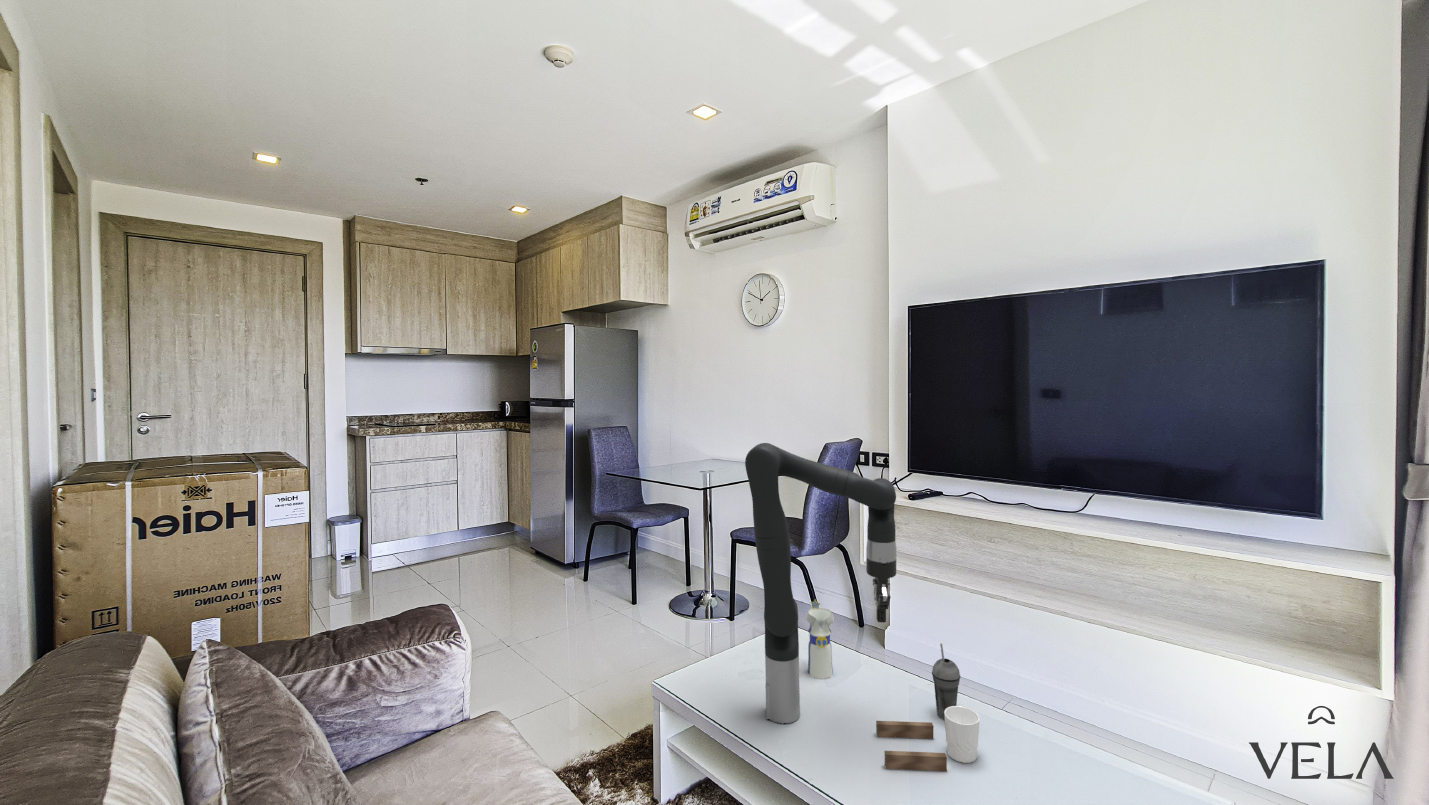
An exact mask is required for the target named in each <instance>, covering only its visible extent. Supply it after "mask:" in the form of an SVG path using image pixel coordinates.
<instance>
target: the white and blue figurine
mask: <svg viewBox="0 0 1429 805" xmlns="http://www.w3.org/2000/svg"><path fill="white" fill-rule="evenodd" d="M809 603H810V604H811V605H812V606H811V608H810V609H809V610H807V613H806V617H805V618H806V621H807V622H808V623H809V624H810V625H809V628H808V631H807V632H808V634H809V640H808V645H807V646H808V648H807V649H808V652H807V653H808V655H807V656H808V660H807V661H808V664H807V674H808V675H809V676H810V677H812V678H813V679H818V680H825V679H826V680H827V679H829V678H831V677H832V676H833V674H834V672H833V671H834V669H833V652H832V651H833V650H832V643H831V634H832V630H831V628H830V626H831V625H832V624H833V623H834V621H835V616H834V615H833V612H832V610H830V609H829V608H827V607H819V606H820V605H822V603H821V602H817V599H816V598H815V599H813V601H810V602H809Z"/></svg>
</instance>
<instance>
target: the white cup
mask: <svg viewBox="0 0 1429 805" xmlns="http://www.w3.org/2000/svg"><path fill="white" fill-rule="evenodd" d="M944 715H945V720H944V728H945V729H944V730H945V731H944V732H945V742H946V752H947V755H949V757H950V758H951V759H952V760H954V761H956V762H959V763H963V764H971V763H973V762H975V761H976V760H977V758H978V746H979V736H980V735H979V734H980V716H979V714H978V713H977V712H976V711H974V710H973V709H971V708H969V707H966V706H960V705H956V706H951V707H948V708H946V709H945V711H944Z"/></svg>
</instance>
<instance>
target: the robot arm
mask: <svg viewBox="0 0 1429 805" xmlns="http://www.w3.org/2000/svg"><path fill="white" fill-rule="evenodd" d="M744 463H745V464H744V465H745V466H744V467H745V471H746V475H747V476H746V477H747V480H748V484H749V489H750V493H751V499H752V500H751V501H752V516H753V528H754V529H753V531H754V539H755V540H754V541H755V547H756V554H757V561H758V565H759V566H758V567H759V571H760V575H761V579H762V584H763V591H764V593H763V595H764V597H763V599H764V600H763V601H764V607H763V608H764V610H763V619H764V655H765V656H764V658H765V661H764V662H765V663H764V664H765V719H766V720H767V719H771V720H770V721H772V720H773V721H772V722H774V721H775V722H774V723H777V722H778V723H777V724H784V723H786V724H790V723H794V722H796V721H797V720H799V718H800V716H801V704H800V700H801V699H800V698H801V697H800V696H801V694H800V689H801V688H800V651H799V650H800V645H799V608H798V603H797V601H796V599H795V598H794V596H793V590H792V578H791V577H792V576H791V574H792V573H791V572H792V565H791V564H792V556H791V554H792V552H791V551H792V550H791V538H790V531H789V530H790V529H789V525H788V521H787V517H786V514H785V511H784V508H783V505H782V502H781V499H780V492H779V488H780V487H779V476H781V477H786V478H790V479H795V480H797V481H799V482H803V483H804V484H807V485H808V486H811V487H814V489H815V488H816V489H818V490H820V491H823V492H825V493H827V494H831V495H835V496H839V497H842V498H846V499H850V500H853V501H854V502H856V503H859V504H862V505H864V506H866V507H867V509H868V516H867V518H868V519H867V528H866V530H867V540H866V541H867V542H866V547H865V548H866V552H865V554H866V555H865V557H866V559H865V561H866V563H865V565H866V566H865V569H866V574H867V575H868V576H870V577H872V586H873V596H874V597H873V599H874V601H875V602H874V603H875V604H874V605H875V606H876V615H875V616H876V621H877V622H878V623H883V624H884V623H887V622H886V621H887V610H889V608H890V606H889V605H890V601H891V599H892V598H891V594H890V591H891V583H890V582H889V579H892V578H895V577H896V575H897V542H896V520H895V504H896V501H897V493H896V489H895V486H894V484H893V483H892V482H891V481H890V480H889V479H887V478H884V477H883V478H882V477H878V478H874V479H869V478H867V477H863V476H860V475H859V474H858V473H856V472H854V471H851V470H848V469H843V468H839V467H836V466H833V465H829V464H825V463H821V462H818V461H815V460H814V461H813V460H810V459H807V458H804V457H801V456H800V455H796V454H794V453H791V452H789V451H787V450H784V449H782V448H780V447H779V446H776V445H774V444H771V443H769V442H762V443H759V444H757V445H755V446H753V448H751V449H750V450H749V451H748V452H747V454H746V456H745V460H744Z"/></svg>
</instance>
